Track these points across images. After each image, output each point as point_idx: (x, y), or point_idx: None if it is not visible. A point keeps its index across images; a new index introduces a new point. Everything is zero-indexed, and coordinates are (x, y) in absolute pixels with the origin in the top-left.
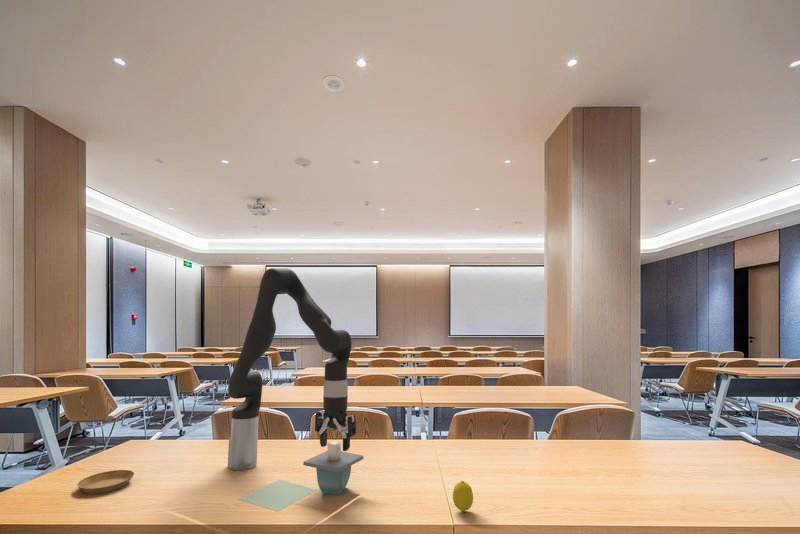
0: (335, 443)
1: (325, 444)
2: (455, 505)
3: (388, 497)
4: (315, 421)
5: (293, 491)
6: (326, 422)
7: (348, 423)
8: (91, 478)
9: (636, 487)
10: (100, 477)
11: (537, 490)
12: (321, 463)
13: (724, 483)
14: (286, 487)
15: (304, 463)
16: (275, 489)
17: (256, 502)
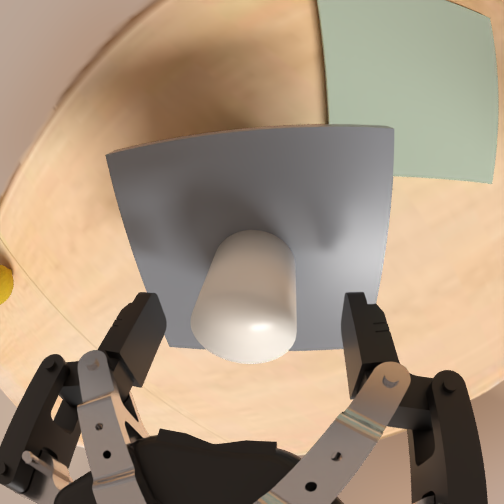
0: (235, 335)
1: (343, 322)
2: (3, 267)
3: (112, 256)
4: (479, 451)
5: (397, 119)
6: (294, 498)
7: (21, 439)
8: None
9: (14, 376)
10: None
11: (31, 357)
12: (256, 159)
13: (7, 387)
14: (441, 139)
15: (381, 126)
16: (459, 109)
17: (431, 4)
